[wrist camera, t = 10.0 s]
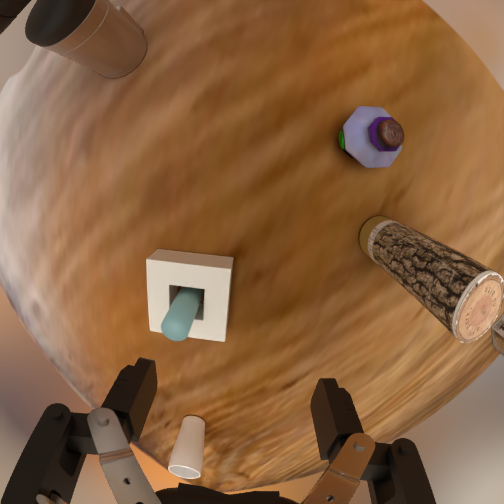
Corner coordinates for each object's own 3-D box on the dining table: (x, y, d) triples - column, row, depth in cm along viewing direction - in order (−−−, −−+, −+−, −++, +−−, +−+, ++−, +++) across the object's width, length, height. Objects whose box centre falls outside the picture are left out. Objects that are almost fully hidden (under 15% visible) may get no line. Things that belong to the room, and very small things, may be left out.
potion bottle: (318, 126, 36) (344, 111, 24) (364, 105, 34) (402, 86, 23) (345, 178, 38) (380, 184, 26) (389, 155, 37) (434, 154, 25)
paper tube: (371, 264, 42) (462, 355, 18) (349, 233, 40) (447, 312, 16) (401, 238, 41) (507, 307, 17) (381, 206, 39) (498, 256, 15)
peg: (182, 277, 43) (160, 314, 31) (204, 279, 43) (188, 319, 31) (182, 297, 44) (161, 338, 32) (204, 300, 44) (188, 343, 32)
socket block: (157, 248, 41) (146, 259, 36) (233, 257, 42) (231, 269, 37) (159, 315, 45) (150, 330, 40) (227, 324, 45) (224, 341, 40)
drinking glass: (187, 408, 52) (174, 462, 38) (213, 420, 53) (206, 473, 39) (175, 421, 54) (163, 470, 40) (201, 431, 55) (192, 481, 41)
